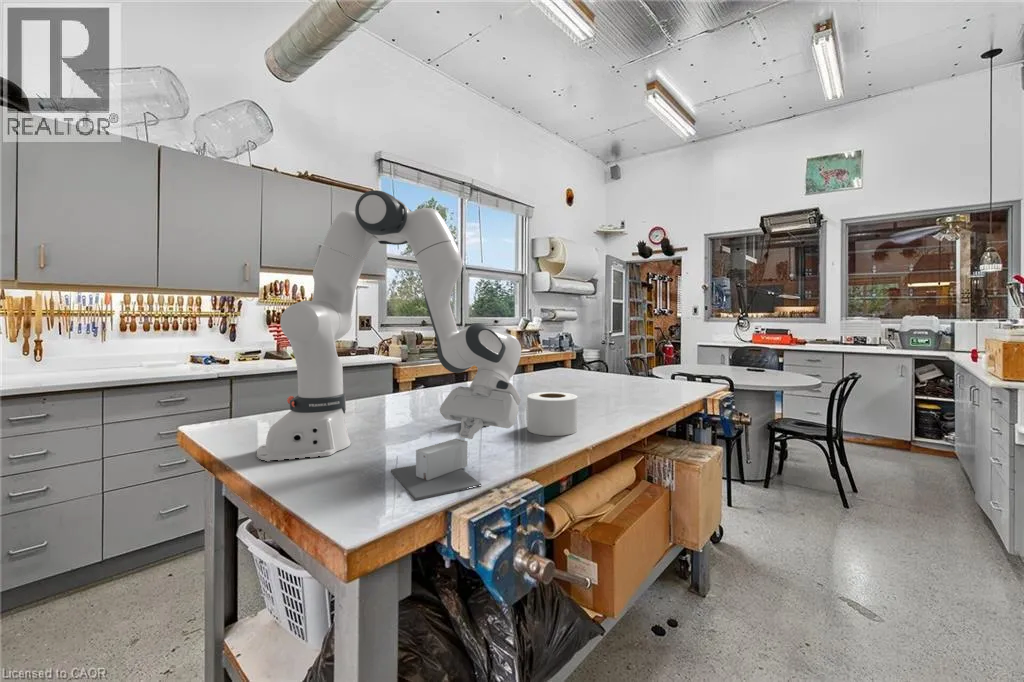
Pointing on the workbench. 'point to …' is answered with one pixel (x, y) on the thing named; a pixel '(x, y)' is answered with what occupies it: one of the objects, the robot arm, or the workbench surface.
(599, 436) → the workbench surface
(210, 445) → the workbench surface
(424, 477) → the skincare box
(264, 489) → the workbench surface
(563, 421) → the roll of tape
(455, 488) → the rubber mat
